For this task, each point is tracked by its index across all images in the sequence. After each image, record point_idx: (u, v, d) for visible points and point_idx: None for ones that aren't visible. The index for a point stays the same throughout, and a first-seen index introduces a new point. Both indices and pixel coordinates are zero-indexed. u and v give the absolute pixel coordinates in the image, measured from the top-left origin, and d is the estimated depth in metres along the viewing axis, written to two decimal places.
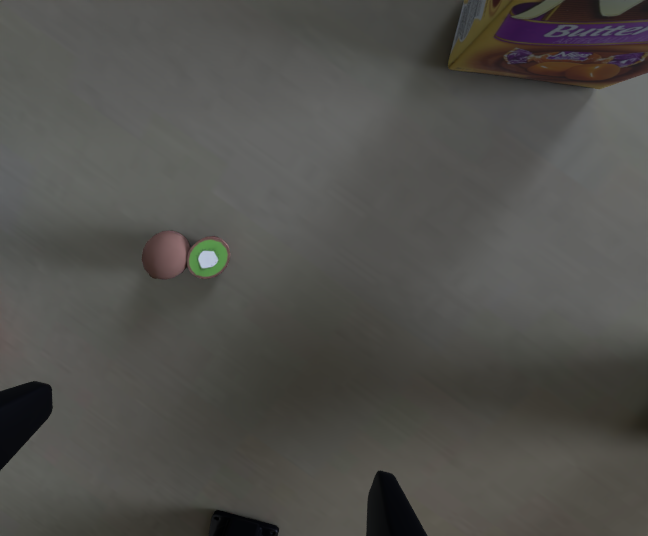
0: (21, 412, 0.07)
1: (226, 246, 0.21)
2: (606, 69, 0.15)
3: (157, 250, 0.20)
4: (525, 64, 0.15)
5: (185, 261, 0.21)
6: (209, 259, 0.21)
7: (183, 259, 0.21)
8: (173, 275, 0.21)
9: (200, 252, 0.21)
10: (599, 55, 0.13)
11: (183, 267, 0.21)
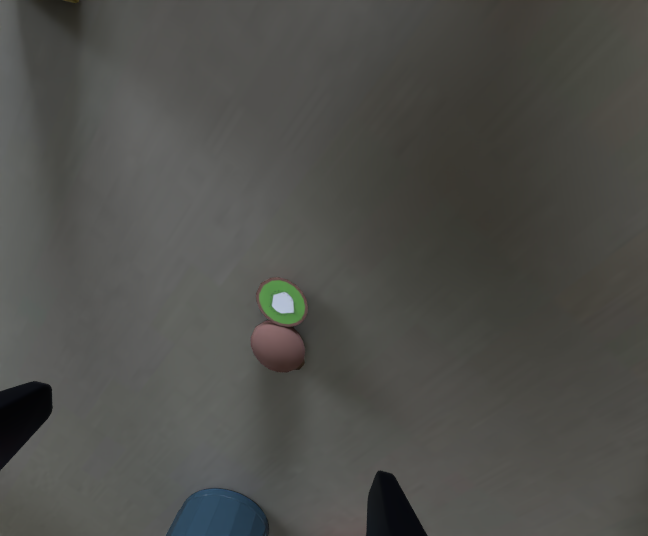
0: (21, 412, 0.07)
1: (269, 279, 0.18)
2: None
3: (263, 352, 0.18)
4: None
5: (283, 327, 0.18)
6: (283, 300, 0.18)
7: (279, 328, 0.18)
8: (297, 344, 0.18)
9: (273, 309, 0.18)
10: None
11: (290, 331, 0.18)
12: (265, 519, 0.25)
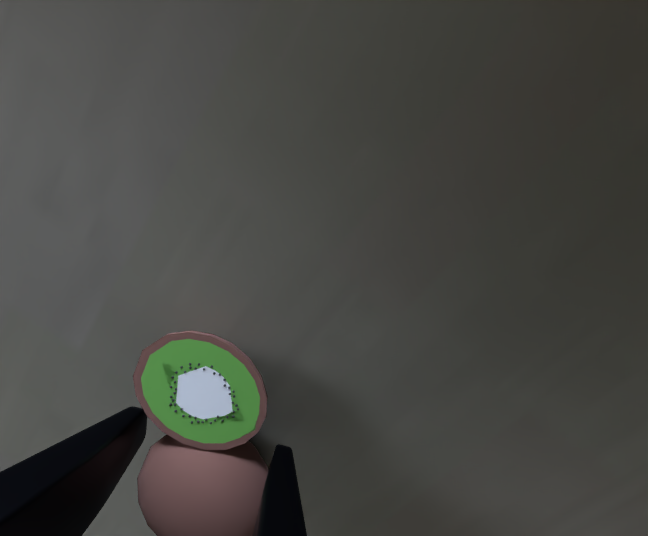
0: (126, 439, 0.07)
1: (164, 339, 0.07)
2: None
3: (159, 526, 0.07)
4: None
5: (209, 452, 0.07)
6: (203, 388, 0.07)
7: (198, 458, 0.07)
8: (248, 490, 0.07)
9: (181, 411, 0.07)
10: None
11: (228, 459, 0.08)
12: None
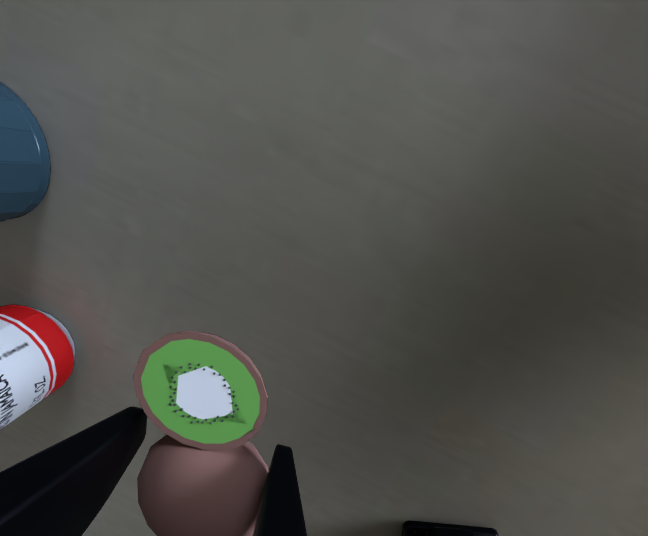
0: (126, 439, 0.07)
1: (164, 339, 0.07)
2: None
3: (159, 526, 0.07)
4: None
5: (209, 452, 0.07)
6: (203, 388, 0.07)
7: (198, 458, 0.07)
8: (248, 490, 0.07)
9: (181, 411, 0.07)
10: None
11: (228, 459, 0.08)
12: (32, 207, 0.17)
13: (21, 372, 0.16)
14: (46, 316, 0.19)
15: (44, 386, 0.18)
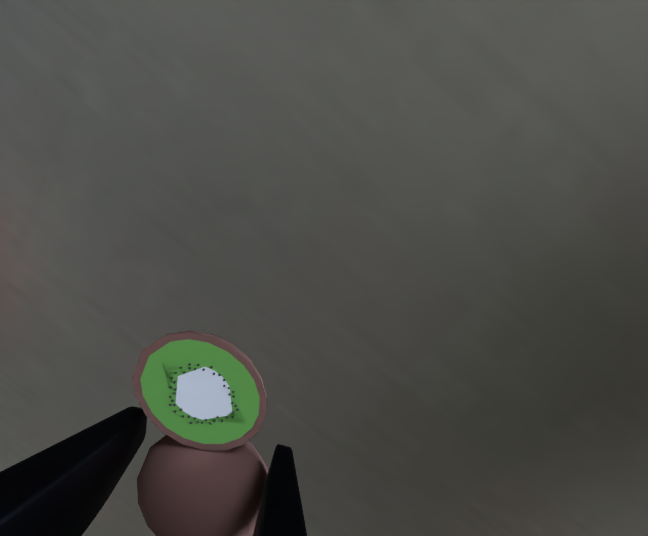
0: (126, 439, 0.07)
1: (163, 339, 0.07)
2: None
3: (159, 527, 0.07)
4: None
5: (209, 453, 0.07)
6: (203, 388, 0.07)
7: (197, 458, 0.07)
8: (248, 491, 0.07)
9: (181, 411, 0.07)
10: None
11: (228, 460, 0.08)
12: None
13: None
14: None
15: None
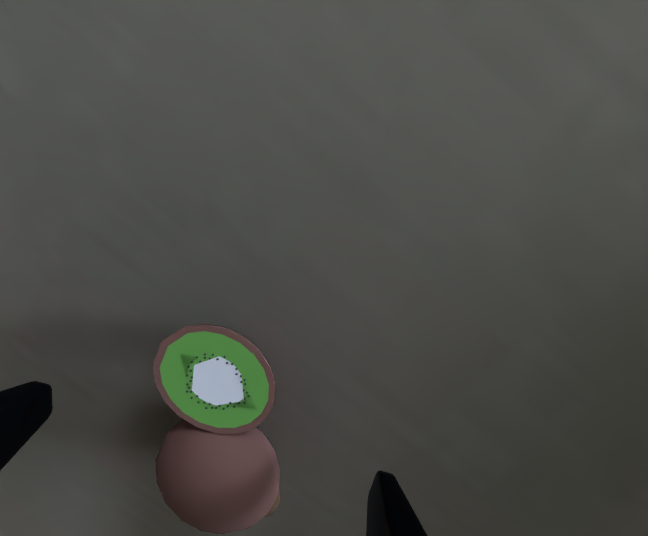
0: (21, 412, 0.07)
1: (181, 331, 0.08)
2: None
3: (177, 503, 0.08)
4: None
5: (222, 436, 0.08)
6: (216, 377, 0.08)
7: (211, 441, 0.08)
8: (258, 471, 0.08)
9: (196, 397, 0.08)
10: None
11: (240, 442, 0.08)
12: None
13: None
14: None
15: None
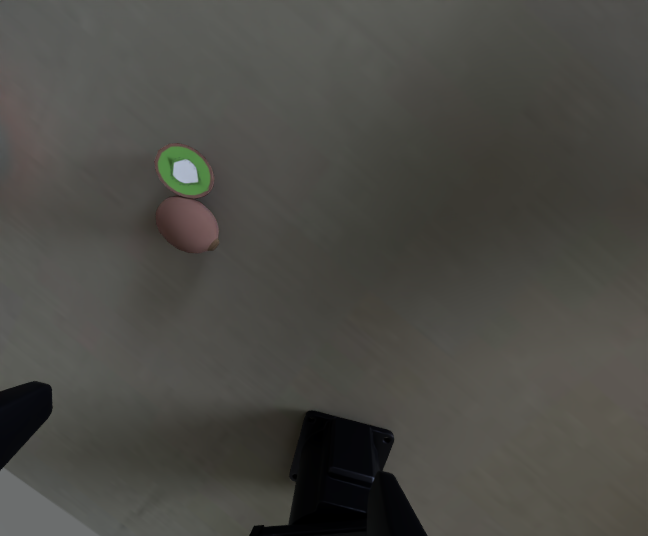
0: (21, 412, 0.07)
1: (167, 146, 0.17)
2: None
3: (165, 225, 0.16)
4: None
5: (187, 199, 0.17)
6: (185, 169, 0.17)
7: (182, 199, 0.17)
8: (205, 216, 0.17)
9: (175, 178, 0.17)
10: None
11: (196, 203, 0.17)
12: None
13: None
14: None
15: None
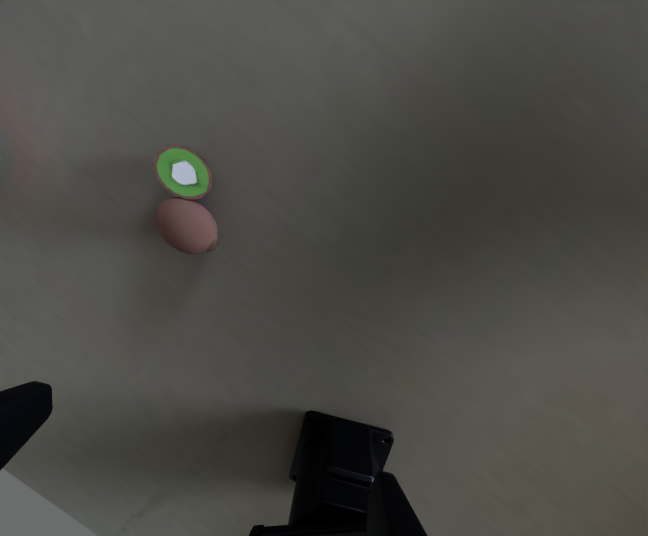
0: (21, 412, 0.07)
1: (166, 147, 0.17)
2: None
3: (164, 226, 0.17)
4: None
5: (186, 200, 0.17)
6: (183, 170, 0.17)
7: (181, 200, 0.17)
8: (203, 217, 0.17)
9: (174, 180, 0.17)
10: None
11: (195, 204, 0.17)
12: None
13: None
14: None
15: None
